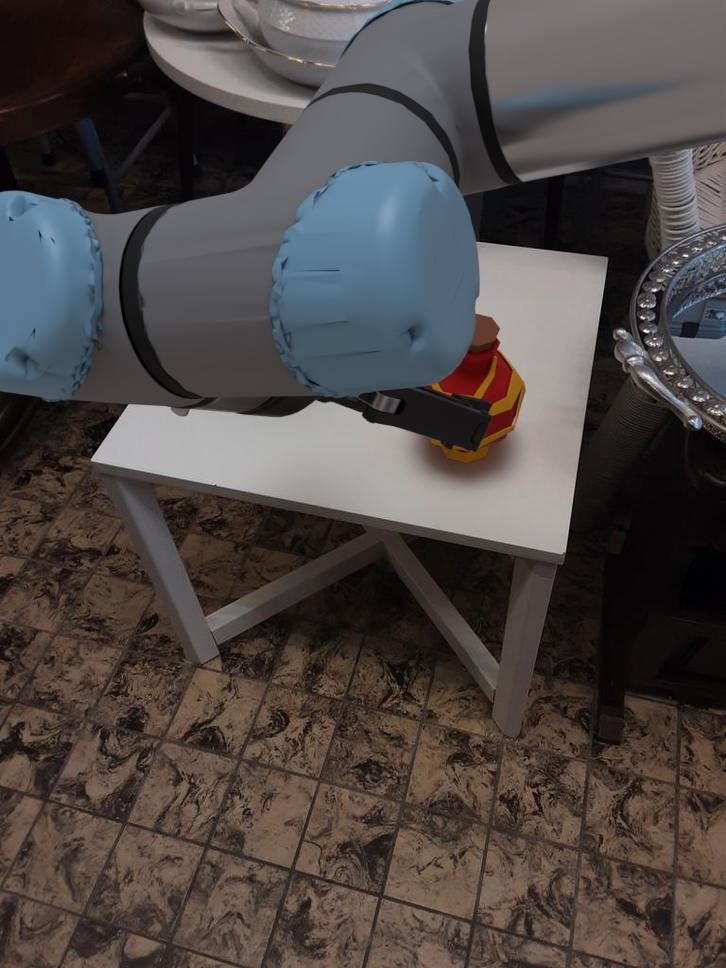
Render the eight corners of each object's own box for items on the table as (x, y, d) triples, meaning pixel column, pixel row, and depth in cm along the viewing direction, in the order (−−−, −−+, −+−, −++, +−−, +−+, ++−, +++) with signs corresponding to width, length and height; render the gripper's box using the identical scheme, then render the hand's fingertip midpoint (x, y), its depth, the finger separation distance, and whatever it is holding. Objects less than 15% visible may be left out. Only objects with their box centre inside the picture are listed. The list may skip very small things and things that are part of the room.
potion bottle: (522, 482, 75) (544, 370, 63) (415, 483, 75) (417, 372, 63) (511, 402, 81) (529, 287, 69) (412, 404, 81) (413, 290, 69)
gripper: (71, 319, 47) (269, 359, 66) (401, 519, 37) (523, 499, 56) (111, 200, 45) (303, 276, 64) (469, 376, 35) (572, 405, 54)
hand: (406, 380), depth 60 cm, fingers open, 13 cm apart
